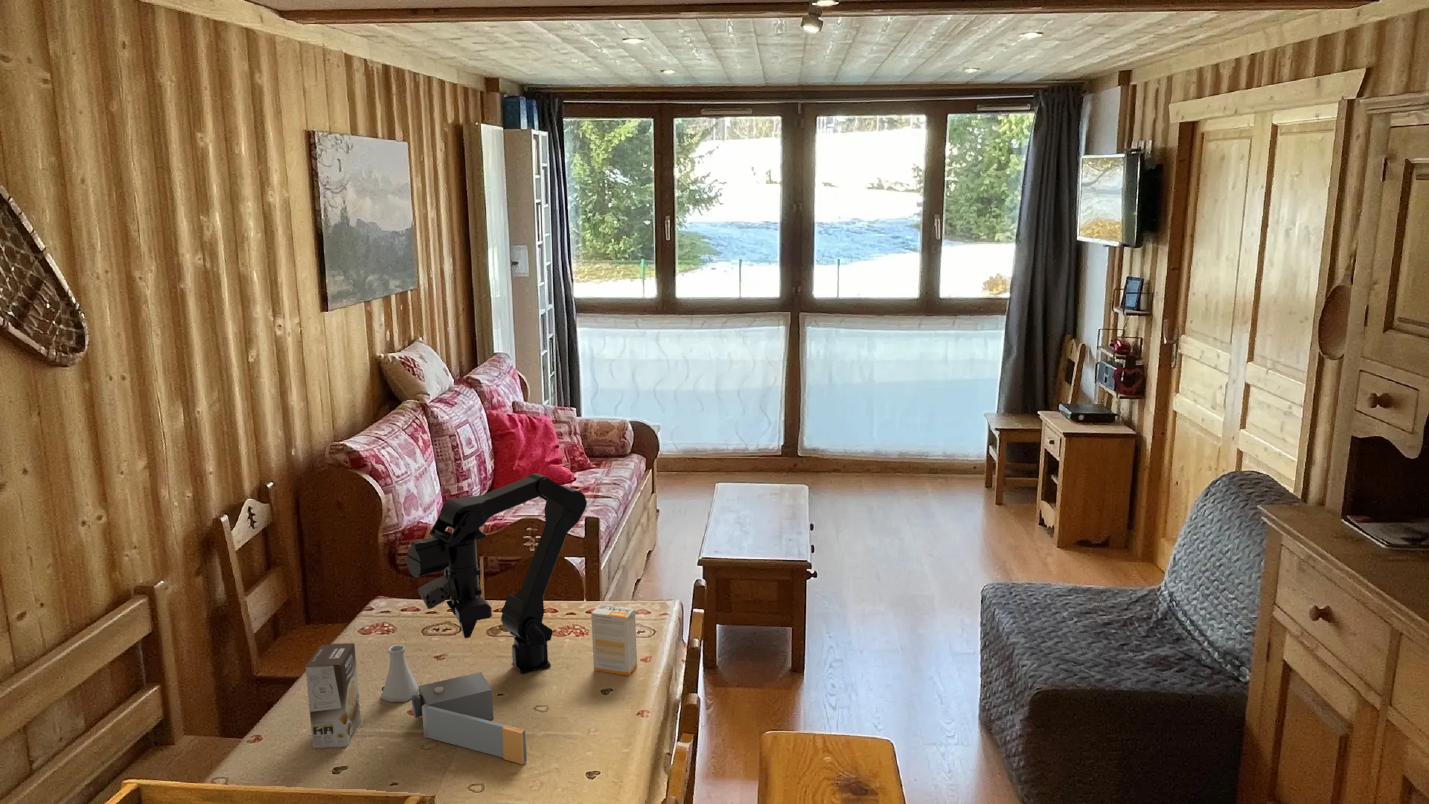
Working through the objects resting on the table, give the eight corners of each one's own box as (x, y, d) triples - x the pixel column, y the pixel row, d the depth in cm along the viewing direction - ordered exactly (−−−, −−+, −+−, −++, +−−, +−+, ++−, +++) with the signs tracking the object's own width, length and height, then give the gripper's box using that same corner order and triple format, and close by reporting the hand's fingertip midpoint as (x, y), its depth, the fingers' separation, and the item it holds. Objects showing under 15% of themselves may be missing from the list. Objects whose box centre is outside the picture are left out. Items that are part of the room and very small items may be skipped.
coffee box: (348, 747, 179) (341, 665, 176) (312, 749, 179) (303, 666, 175) (362, 720, 188) (355, 642, 185) (327, 722, 188) (319, 643, 184)
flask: (408, 705, 194) (404, 658, 192) (374, 701, 195) (370, 654, 193) (425, 687, 201) (422, 641, 199) (393, 684, 202) (389, 638, 200)
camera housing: (482, 699, 195) (480, 669, 194) (493, 718, 188) (491, 686, 187) (412, 716, 189) (409, 685, 188) (420, 736, 182) (418, 703, 181)
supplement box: (638, 666, 209) (636, 608, 206) (628, 676, 204) (627, 617, 202) (602, 660, 212) (600, 603, 209) (592, 670, 207) (590, 612, 204)
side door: (527, 760, 174) (525, 729, 173) (522, 764, 173) (521, 733, 172) (426, 733, 183) (424, 704, 182) (421, 737, 182) (419, 707, 181)
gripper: (411, 555, 199) (416, 627, 202) (430, 587, 183) (436, 665, 186) (466, 546, 204) (471, 617, 207) (490, 576, 188) (494, 653, 191)
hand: (467, 637), depth 198 cm, fingers closed
